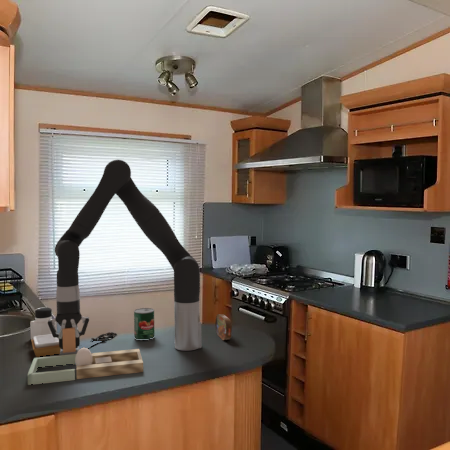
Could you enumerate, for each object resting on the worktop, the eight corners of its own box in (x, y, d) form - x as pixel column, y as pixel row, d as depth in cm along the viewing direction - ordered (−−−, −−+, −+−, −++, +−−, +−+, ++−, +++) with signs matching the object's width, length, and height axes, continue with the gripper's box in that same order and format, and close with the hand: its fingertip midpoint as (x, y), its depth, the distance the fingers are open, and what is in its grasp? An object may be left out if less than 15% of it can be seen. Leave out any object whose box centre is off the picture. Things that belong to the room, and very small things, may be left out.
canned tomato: (146, 342, 175) (145, 313, 175) (130, 339, 179) (129, 311, 178) (158, 336, 182) (158, 309, 182) (143, 333, 186) (142, 307, 185)
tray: (76, 362, 153) (76, 354, 153) (74, 380, 139) (74, 370, 139) (34, 367, 150) (34, 358, 150) (27, 385, 135) (27, 375, 135)
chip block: (110, 365, 152) (110, 356, 151) (112, 370, 147) (112, 361, 147) (95, 367, 150) (94, 358, 150) (96, 372, 145) (95, 363, 145)
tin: (214, 332, 188) (214, 311, 187) (222, 331, 189) (222, 311, 188) (225, 343, 173) (225, 321, 173) (233, 342, 174) (233, 320, 174)
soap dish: (63, 355, 162) (63, 341, 161) (33, 359, 157) (33, 345, 157) (59, 345, 173) (59, 332, 172) (31, 349, 168) (31, 335, 168)
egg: (94, 366, 150) (93, 344, 149) (91, 372, 144) (90, 349, 144) (77, 367, 149) (76, 345, 149) (73, 373, 144) (73, 350, 143)
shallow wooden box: (139, 357, 158) (139, 348, 158) (143, 371, 145) (143, 362, 145) (78, 363, 153) (78, 354, 153) (76, 379, 140) (76, 369, 139)
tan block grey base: (79, 355, 161) (78, 324, 161) (78, 360, 155) (77, 328, 155) (61, 356, 160) (60, 325, 159) (59, 362, 154) (59, 330, 153)
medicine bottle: (57, 337, 182) (56, 307, 181) (41, 342, 176) (41, 311, 175) (46, 334, 186) (45, 305, 185) (30, 339, 180) (29, 309, 179)
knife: (75, 356, 161) (75, 352, 161) (61, 353, 164) (61, 350, 164) (121, 336, 184) (121, 333, 184) (108, 334, 187) (108, 331, 187)
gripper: (90, 294, 162) (91, 342, 163) (46, 297, 158) (48, 346, 159) (89, 299, 155) (91, 349, 156) (44, 302, 151) (46, 353, 152)
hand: (69, 347), depth 157 cm, fingers closed on tan block grey base, 4 cm apart
